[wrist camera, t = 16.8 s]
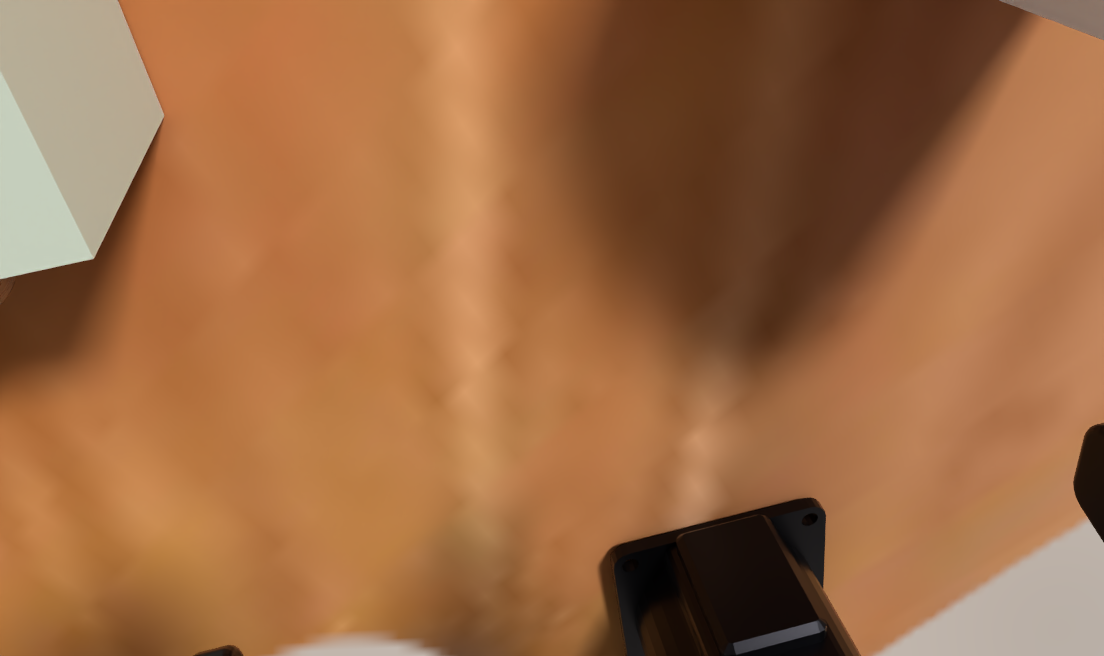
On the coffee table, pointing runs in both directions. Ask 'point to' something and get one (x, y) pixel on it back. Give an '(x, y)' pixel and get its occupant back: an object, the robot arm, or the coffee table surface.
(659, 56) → the coffee table surface
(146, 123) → the block
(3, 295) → the pin
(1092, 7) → the photo printer
